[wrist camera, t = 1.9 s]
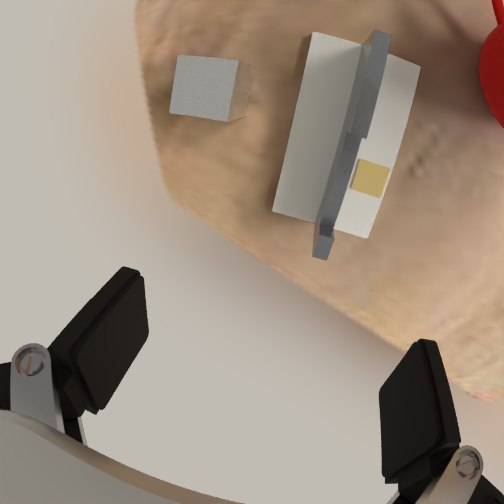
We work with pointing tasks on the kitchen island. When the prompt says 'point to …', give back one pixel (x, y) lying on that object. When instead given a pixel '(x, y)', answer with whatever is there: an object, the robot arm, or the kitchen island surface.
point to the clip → (211, 88)
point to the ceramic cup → (494, 65)
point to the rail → (351, 137)
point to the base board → (329, 130)
